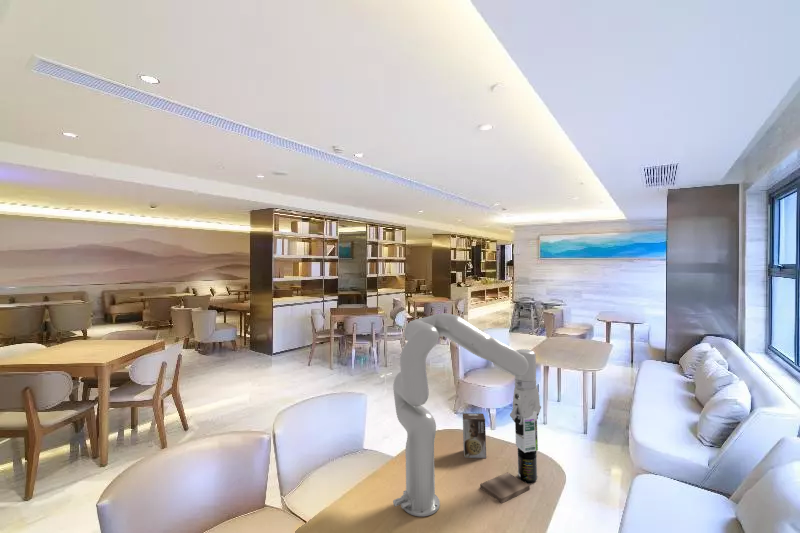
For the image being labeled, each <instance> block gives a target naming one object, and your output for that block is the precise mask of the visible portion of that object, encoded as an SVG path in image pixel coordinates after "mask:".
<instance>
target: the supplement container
mask: <svg viewBox="0 0 800 533" xmlns="http://www.w3.org/2000/svg"><path fill="white" fill-rule="evenodd" d="M537 451H538V450H537ZM537 451H530V452H526V453H524V452H523V451H522V450H520V449H519V448H518V447H517V476H518V477H517V478H518V479H520V480H522V481H523V482H525V483H527V484H533V483H536V482H537V480H538V463H537V462H538V461H537V460H538V459H537V458H538V454H537Z"/></svg>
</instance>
